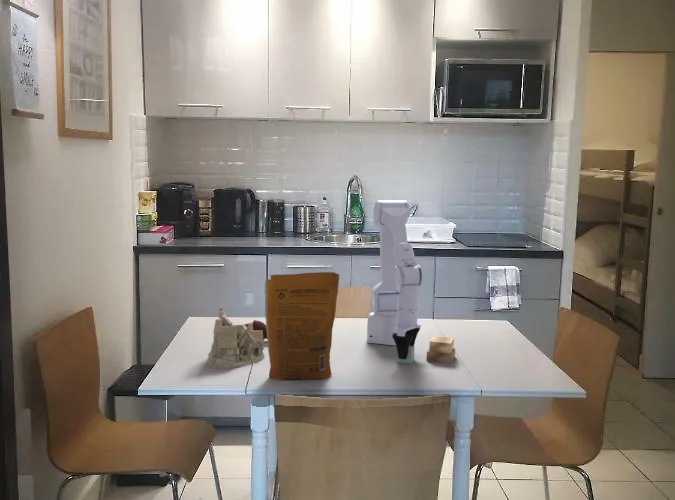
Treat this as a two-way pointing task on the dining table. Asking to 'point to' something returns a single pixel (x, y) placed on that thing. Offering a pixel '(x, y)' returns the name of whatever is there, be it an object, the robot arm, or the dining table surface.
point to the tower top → (441, 344)
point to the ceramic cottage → (234, 344)
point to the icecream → (259, 327)
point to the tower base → (440, 356)
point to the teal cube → (409, 357)
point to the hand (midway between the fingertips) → (405, 355)
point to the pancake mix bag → (300, 324)
